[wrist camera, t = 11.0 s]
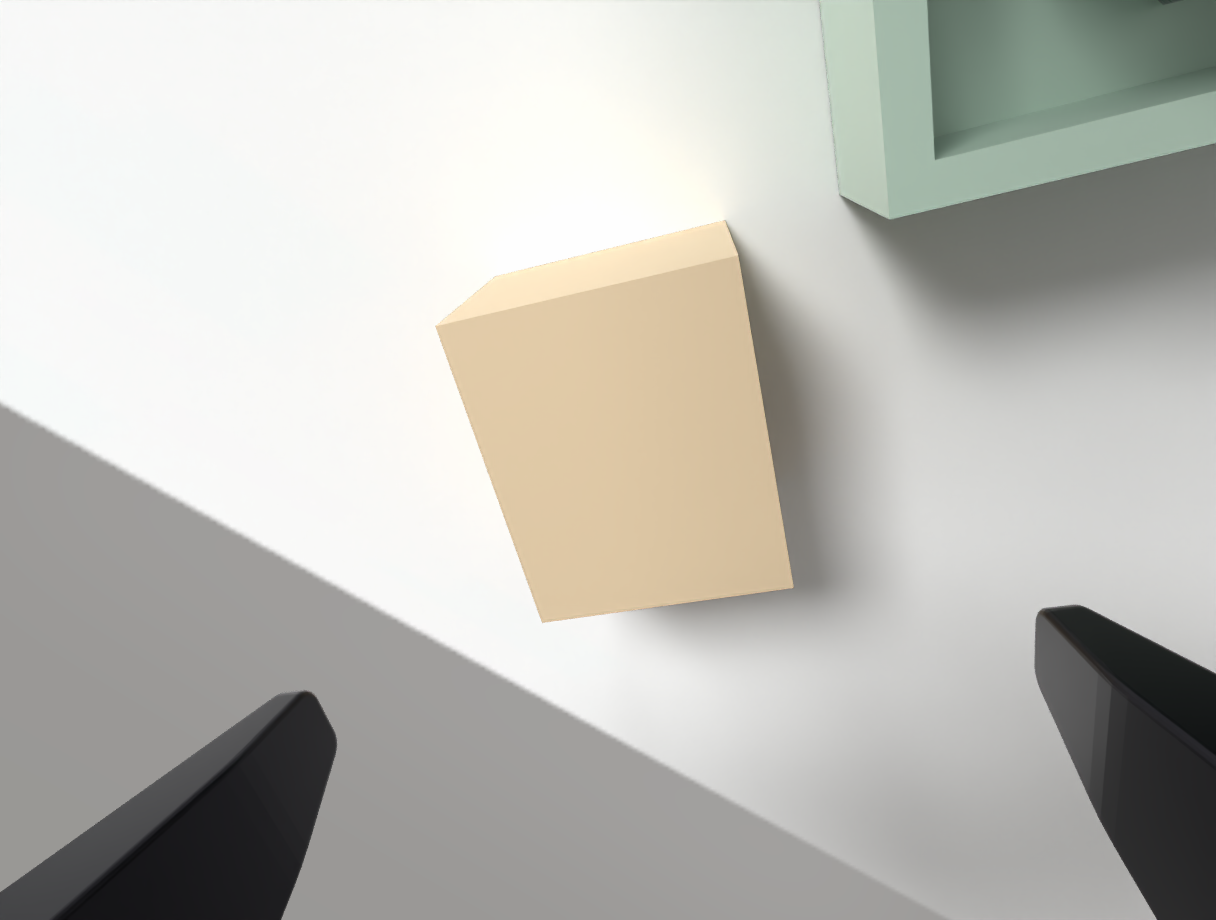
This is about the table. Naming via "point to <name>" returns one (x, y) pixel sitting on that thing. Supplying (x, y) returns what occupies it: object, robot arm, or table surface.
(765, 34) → the table surface
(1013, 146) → the tote
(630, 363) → the tan rectangular block
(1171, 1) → the tin
